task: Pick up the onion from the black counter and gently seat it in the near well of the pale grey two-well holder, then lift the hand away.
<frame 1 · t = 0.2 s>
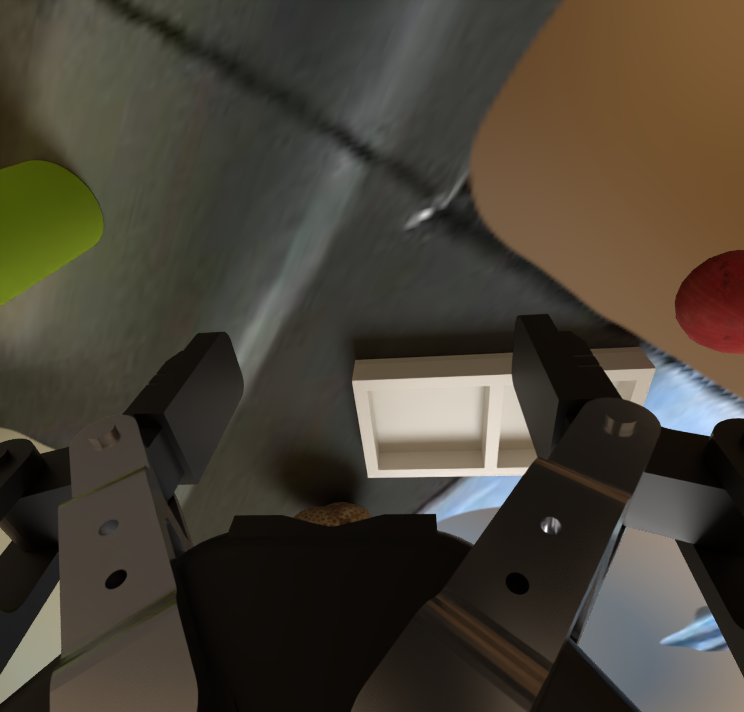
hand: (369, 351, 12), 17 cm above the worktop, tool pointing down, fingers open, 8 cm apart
soap dispenser: (51, 205, 28), on the worktop
onion: (699, 273, 28), on the worktop
well holder: (488, 407, 36), on the worktop
natural sponge: (335, 502, 45), on the worktop
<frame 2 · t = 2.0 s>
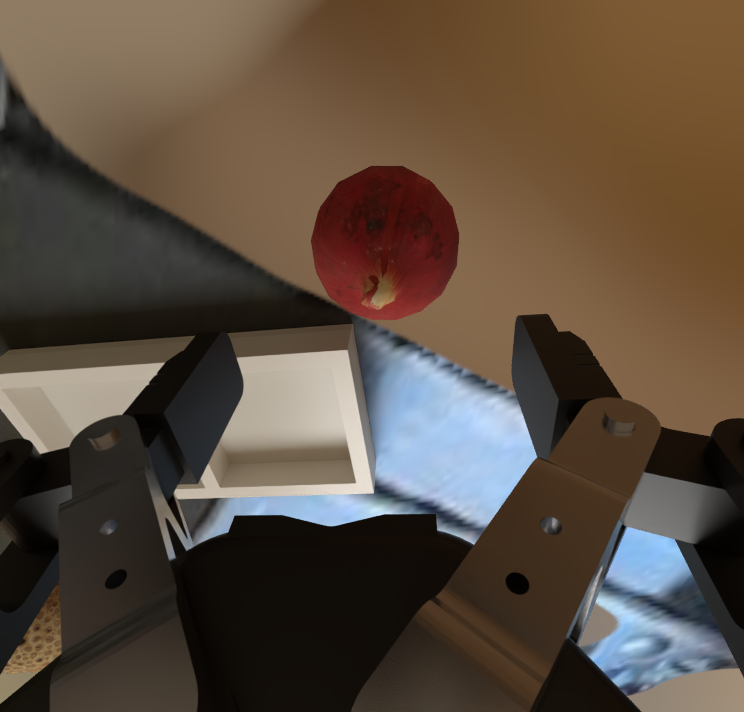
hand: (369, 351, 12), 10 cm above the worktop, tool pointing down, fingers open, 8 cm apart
onion: (388, 216, 20), on the worktop
well holder: (204, 409, 28), on the worktop
natural sponge: (91, 531, 37), on the worktop
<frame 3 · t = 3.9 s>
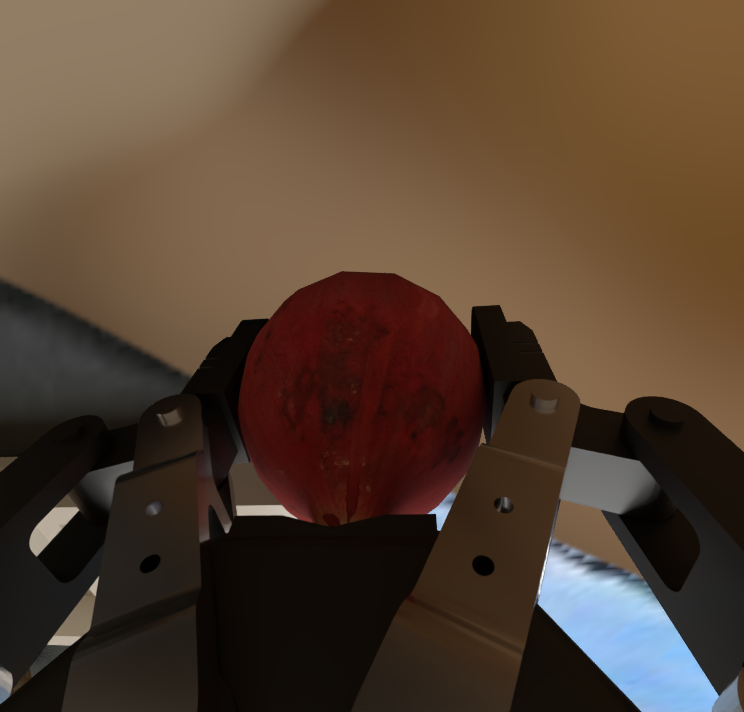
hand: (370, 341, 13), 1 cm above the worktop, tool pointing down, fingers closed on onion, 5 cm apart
onion: (374, 318, 14), on the worktop, touching gripper
well holder: (131, 535, 21), on the worktop
natural sponge: (7, 647, 30), on the worktop
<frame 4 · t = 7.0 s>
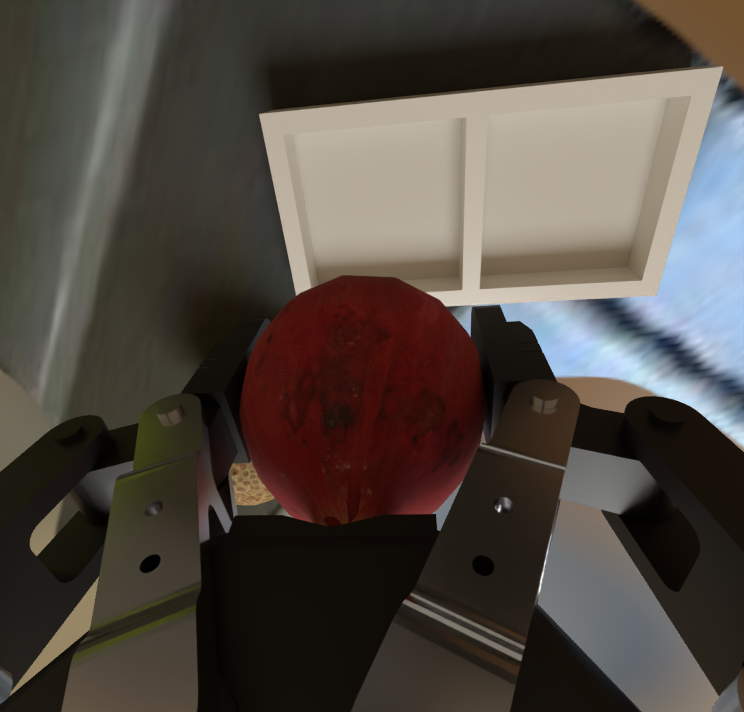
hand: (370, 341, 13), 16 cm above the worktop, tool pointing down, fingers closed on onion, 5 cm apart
onion: (374, 321, 14), point 14 cm above the worktop, touching gripper
well holder: (468, 199, 25), on the worktop
natural sponge: (269, 384, 34), on the worktop
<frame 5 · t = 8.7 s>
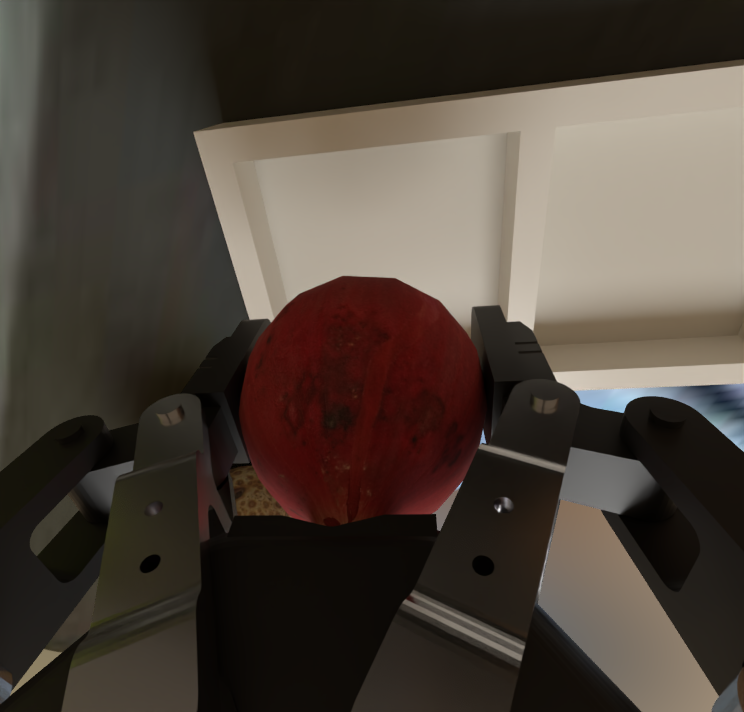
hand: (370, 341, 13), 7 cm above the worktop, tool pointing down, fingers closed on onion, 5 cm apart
onion: (374, 321, 14), point 5 cm above the worktop, touching gripper
well holder: (510, 245, 17), on the worktop
natural sponge: (244, 470, 26), on the worktop
when the fingers open (3 cm above the worktop, at t = 10.3 s): onion drops 1 cm, resting on well holder.
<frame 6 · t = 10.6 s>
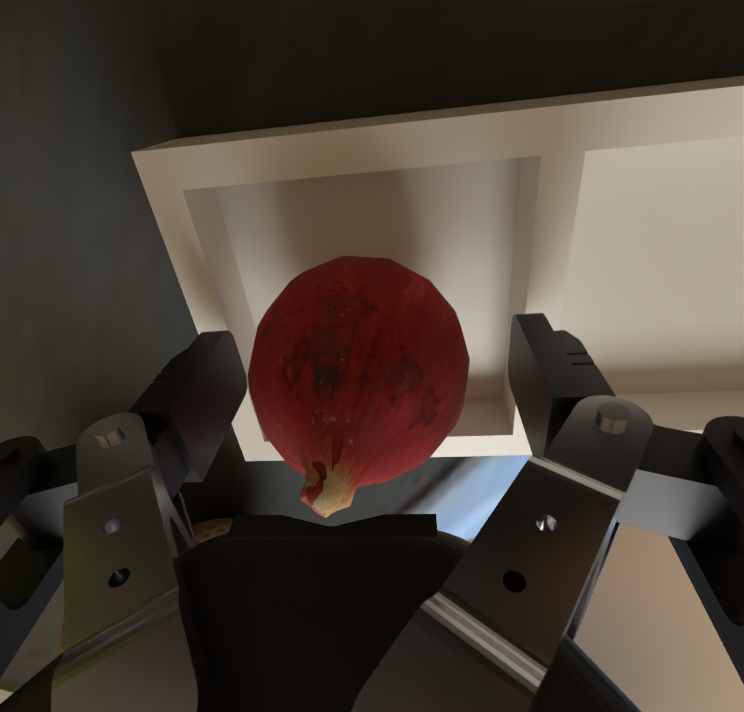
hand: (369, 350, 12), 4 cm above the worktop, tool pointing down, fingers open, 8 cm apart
onion: (377, 300, 15), resting on well holder
well holder: (522, 284, 15), on the worktop
natural sponge: (218, 520, 24), on the worktop
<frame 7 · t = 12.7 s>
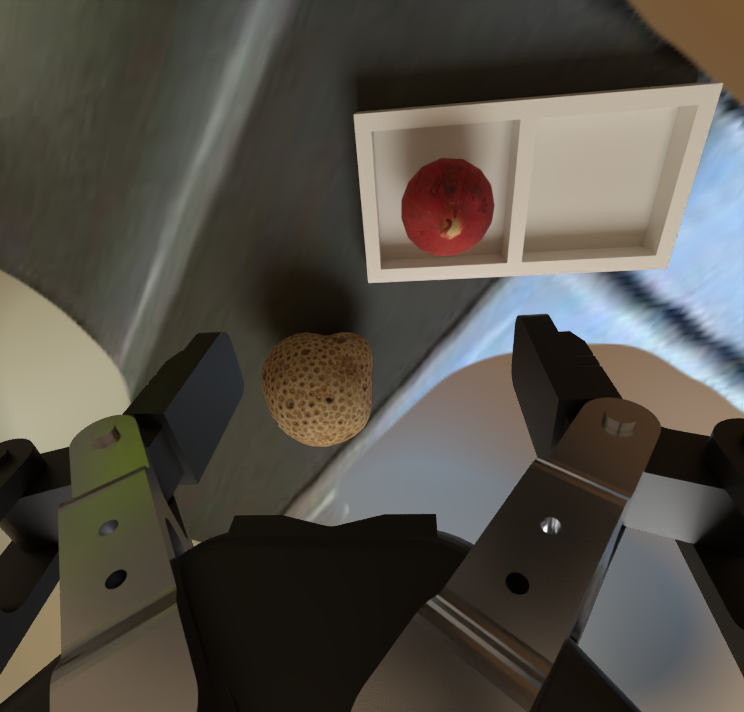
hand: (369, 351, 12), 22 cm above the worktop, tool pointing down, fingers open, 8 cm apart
onion: (442, 194, 31), resting on well holder
well holder: (512, 188, 30), on the worktop
natural sponge: (327, 350, 39), on the worktop
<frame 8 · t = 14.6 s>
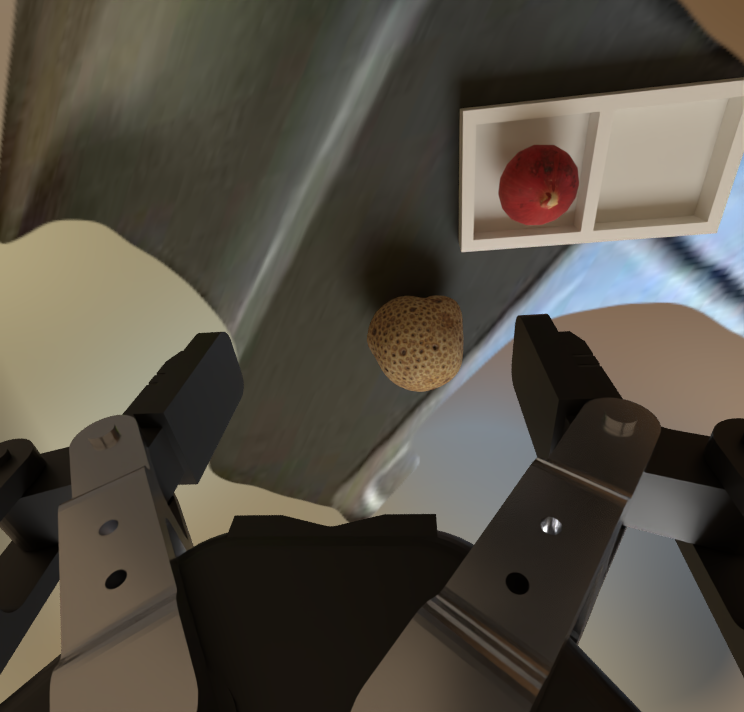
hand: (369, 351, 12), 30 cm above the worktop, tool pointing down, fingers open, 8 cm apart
onion: (525, 175, 37), resting on well holder
well holder: (585, 169, 37), on the worktop
natural sponge: (414, 314, 45), on the worktop
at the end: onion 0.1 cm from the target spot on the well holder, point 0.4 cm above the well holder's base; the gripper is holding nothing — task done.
